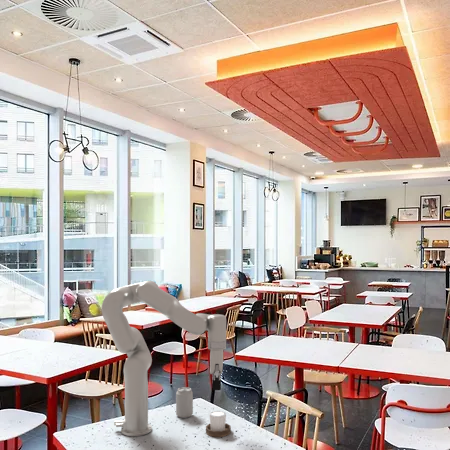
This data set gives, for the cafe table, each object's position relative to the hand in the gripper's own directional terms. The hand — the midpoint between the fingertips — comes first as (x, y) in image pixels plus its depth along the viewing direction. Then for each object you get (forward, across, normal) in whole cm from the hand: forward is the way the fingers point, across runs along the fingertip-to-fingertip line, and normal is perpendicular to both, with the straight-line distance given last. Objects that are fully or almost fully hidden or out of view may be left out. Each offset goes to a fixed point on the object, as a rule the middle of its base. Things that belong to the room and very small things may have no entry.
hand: (216, 386), depth 201 cm
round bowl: (+18, 0, +1) cm, 19 cm away
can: (+19, -19, -14) cm, 31 cm away
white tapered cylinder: (+18, +1, 0) cm, 18 cm away
